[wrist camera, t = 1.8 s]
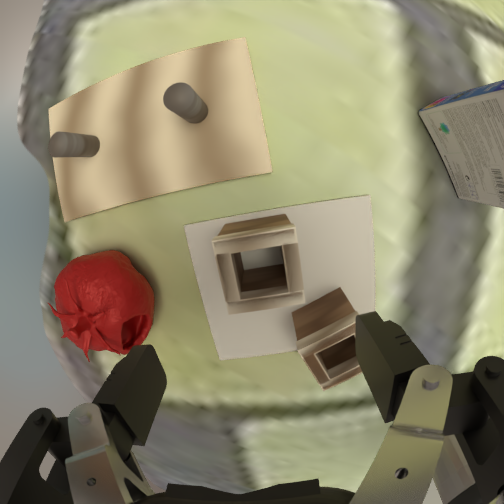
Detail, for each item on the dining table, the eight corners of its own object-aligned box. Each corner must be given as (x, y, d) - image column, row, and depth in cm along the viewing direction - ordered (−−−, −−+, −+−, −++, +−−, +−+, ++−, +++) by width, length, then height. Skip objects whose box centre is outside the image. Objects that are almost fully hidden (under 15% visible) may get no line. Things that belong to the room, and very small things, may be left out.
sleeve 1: (286, 212, 23) (295, 226, 17) (295, 271, 24) (305, 303, 18) (223, 222, 23) (211, 240, 17) (235, 281, 24) (228, 314, 19)
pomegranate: (67, 269, 25) (11, 303, 17) (128, 223, 24) (66, 250, 15) (116, 343, 28) (75, 395, 19) (183, 313, 26) (149, 374, 17)
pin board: (246, 42, 19) (241, 7, 13) (271, 172, 22) (276, 172, 16) (55, 110, 20) (16, 103, 14) (71, 219, 24) (32, 234, 18)
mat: (368, 194, 22) (370, 195, 22) (373, 332, 26) (374, 334, 26) (184, 224, 23) (183, 225, 23) (220, 357, 27) (219, 360, 27)
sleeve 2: (340, 285, 24) (361, 318, 18) (359, 326, 25) (380, 363, 20) (290, 312, 25) (297, 350, 19) (312, 350, 26) (323, 391, 21)
